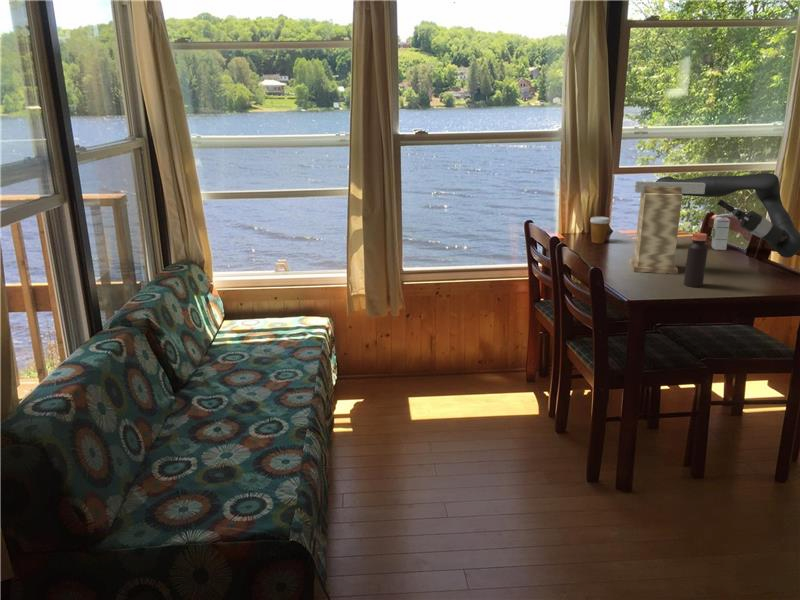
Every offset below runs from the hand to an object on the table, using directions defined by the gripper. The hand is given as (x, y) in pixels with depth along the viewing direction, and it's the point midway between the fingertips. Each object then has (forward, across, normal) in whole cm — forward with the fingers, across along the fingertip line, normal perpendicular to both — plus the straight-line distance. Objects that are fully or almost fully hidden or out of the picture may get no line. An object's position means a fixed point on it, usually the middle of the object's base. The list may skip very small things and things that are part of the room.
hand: (721, 203), depth 265 cm
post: (+6, 0, +36) cm, 37 cm away
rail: (+20, 0, +7) cm, 21 cm away
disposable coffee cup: (+22, -49, +46) cm, 70 cm away
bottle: (-4, +23, +31) cm, 39 cm away
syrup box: (-25, -44, +18) cm, 54 cm away
